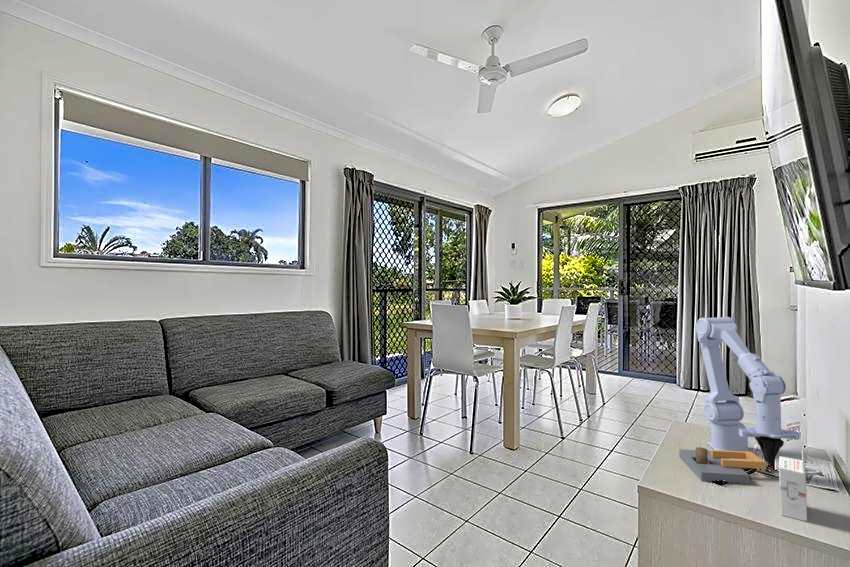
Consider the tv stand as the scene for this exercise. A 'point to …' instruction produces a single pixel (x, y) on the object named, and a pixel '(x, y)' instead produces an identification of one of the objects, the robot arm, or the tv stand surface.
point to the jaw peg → (701, 455)
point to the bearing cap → (738, 459)
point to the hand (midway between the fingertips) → (769, 462)
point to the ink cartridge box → (793, 488)
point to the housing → (713, 469)
